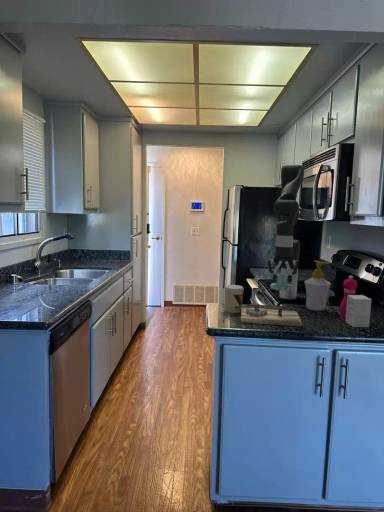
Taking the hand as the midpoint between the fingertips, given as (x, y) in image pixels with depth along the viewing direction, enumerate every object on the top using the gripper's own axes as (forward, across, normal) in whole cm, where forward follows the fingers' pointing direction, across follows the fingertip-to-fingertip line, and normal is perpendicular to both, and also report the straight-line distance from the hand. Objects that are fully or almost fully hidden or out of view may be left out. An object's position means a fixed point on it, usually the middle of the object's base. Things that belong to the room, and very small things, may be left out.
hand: (281, 282), depth 157 cm
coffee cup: (+17, +22, -9) cm, 29 cm away
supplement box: (+17, -34, 0) cm, 38 cm away
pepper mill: (+17, -32, -11) cm, 38 cm away
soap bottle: (+17, -20, -21) cm, 34 cm away
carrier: (+17, +4, 0) cm, 18 cm away
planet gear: (+3, 0, 0) cm, 3 cm away
